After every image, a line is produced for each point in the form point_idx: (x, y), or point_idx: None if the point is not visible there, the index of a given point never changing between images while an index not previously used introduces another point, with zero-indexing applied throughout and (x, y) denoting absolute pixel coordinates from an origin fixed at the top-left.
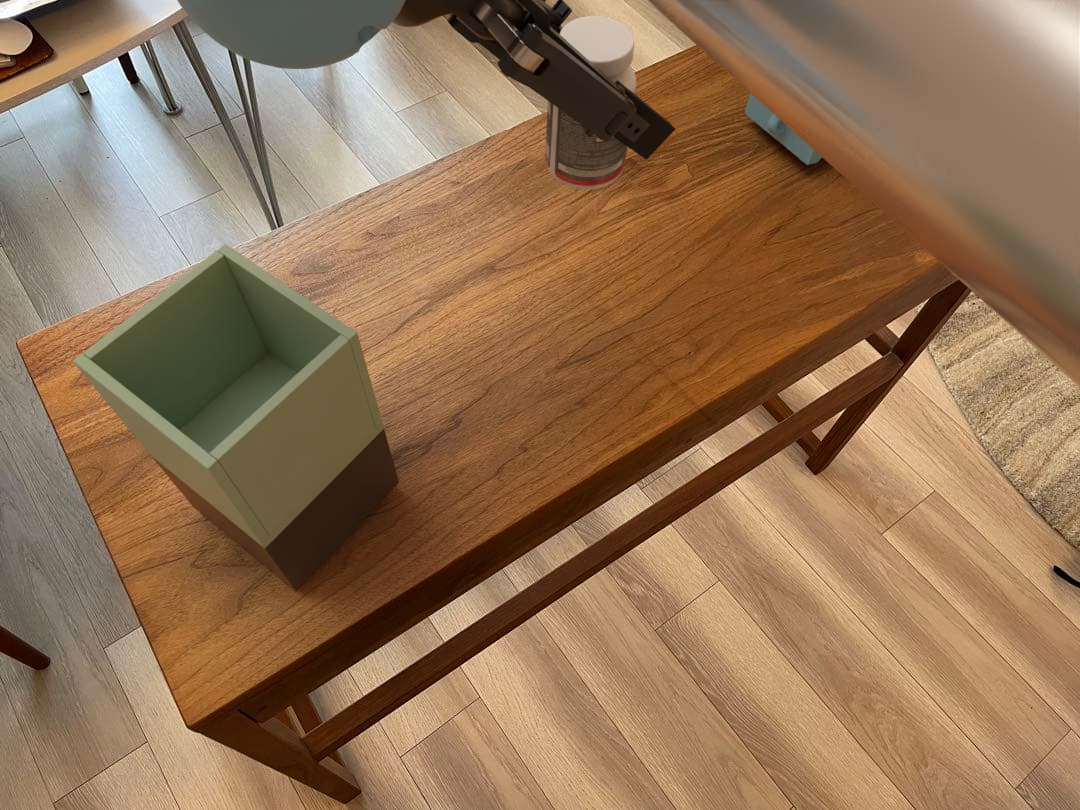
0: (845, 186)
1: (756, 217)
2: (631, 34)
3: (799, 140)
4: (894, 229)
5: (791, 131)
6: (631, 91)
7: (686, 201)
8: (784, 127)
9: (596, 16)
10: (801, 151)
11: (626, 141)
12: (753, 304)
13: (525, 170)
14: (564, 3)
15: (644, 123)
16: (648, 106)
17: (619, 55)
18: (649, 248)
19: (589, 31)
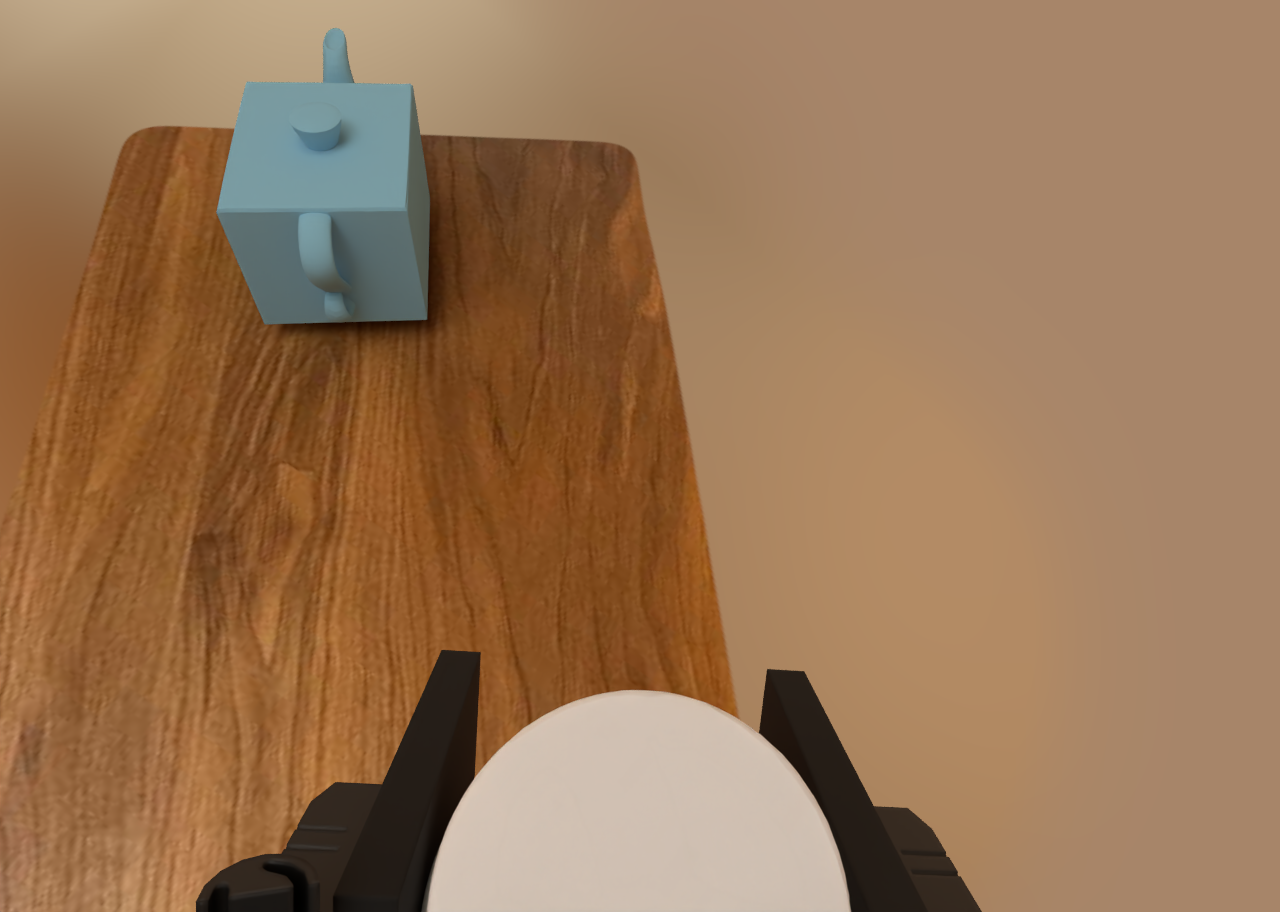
0: (484, 303)
1: (457, 439)
2: (692, 704)
3: (390, 300)
4: (589, 303)
5: (367, 298)
6: (836, 830)
7: (354, 512)
8: (351, 300)
9: (479, 793)
10: (404, 310)
11: None
12: (606, 550)
13: (51, 745)
14: (251, 896)
15: (938, 845)
16: (832, 763)
17: (833, 865)
18: (404, 631)
19: (575, 909)
